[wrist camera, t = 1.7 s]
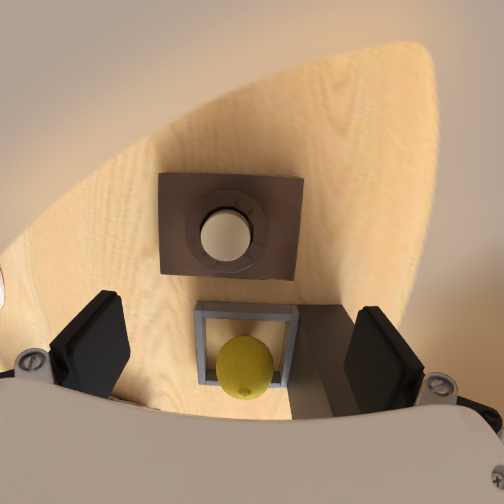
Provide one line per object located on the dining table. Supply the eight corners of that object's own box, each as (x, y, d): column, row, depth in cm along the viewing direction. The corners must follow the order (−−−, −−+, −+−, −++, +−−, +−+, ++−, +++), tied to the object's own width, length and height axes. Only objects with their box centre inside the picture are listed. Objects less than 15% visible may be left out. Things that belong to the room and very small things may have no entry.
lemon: (212, 327, 29) (203, 379, 21) (263, 316, 28) (269, 367, 21) (227, 365, 30) (223, 418, 23) (275, 356, 30) (282, 408, 22)
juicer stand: (200, 376, 31) (171, 579, 7) (197, 295, 28) (122, 567, 4) (331, 377, 31) (390, 560, 8) (351, 300, 28) (480, 514, 4)
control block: (166, 265, 27) (154, 282, 23) (165, 171, 24) (151, 173, 20) (290, 272, 27) (297, 289, 23) (299, 177, 24) (308, 179, 20)
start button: (203, 253, 22) (200, 260, 21) (204, 208, 21) (200, 212, 20) (248, 255, 23) (248, 262, 21) (251, 210, 21) (251, 214, 20)
